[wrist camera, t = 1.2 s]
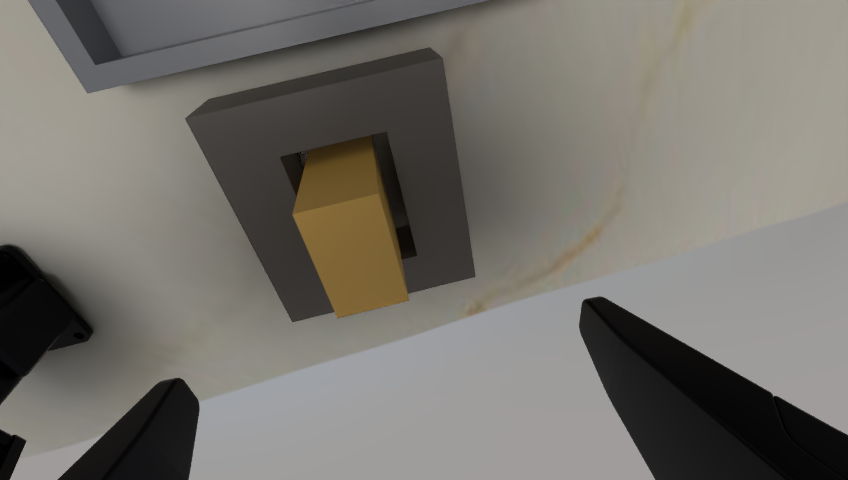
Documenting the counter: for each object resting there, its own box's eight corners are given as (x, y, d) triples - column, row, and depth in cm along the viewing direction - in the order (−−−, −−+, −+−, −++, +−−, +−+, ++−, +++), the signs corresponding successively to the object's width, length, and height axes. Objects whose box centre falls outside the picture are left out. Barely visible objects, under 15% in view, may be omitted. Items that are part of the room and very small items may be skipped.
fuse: (341, 230, 22) (337, 318, 16) (310, 144, 19) (292, 214, 14) (394, 217, 22) (409, 300, 16) (370, 130, 19) (378, 193, 14)
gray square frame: (298, 286, 24) (292, 322, 21) (208, 99, 18) (185, 118, 15) (462, 246, 24) (475, 276, 21) (429, 47, 18) (442, 58, 15)
